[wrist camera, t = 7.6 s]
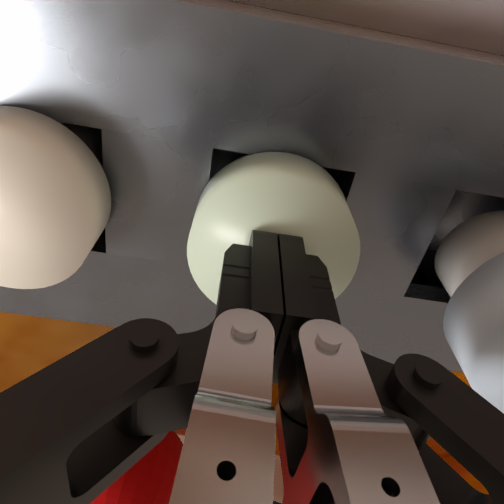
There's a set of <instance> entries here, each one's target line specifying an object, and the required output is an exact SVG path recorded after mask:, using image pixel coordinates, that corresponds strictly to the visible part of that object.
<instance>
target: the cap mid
mask: <svg viewBox="0 0 504 504" xmlns="http://www.w3.org/2000/svg"><path fill="white" fill-rule="evenodd" d="M252 230H259V231H266V232H272V233H277V234H278V233H279V234H286V235H293V236H299V237H303V241H304V246H305V252H306V254H308V255H315V256H318V257H319V258H320V259H321V261H322V262H323V263H324V264H325V265H326V267H327V270H328V274H329V278H330V282H331V286H332V291H333V294H334V298H335V299H336V298H337V297H338V296H339V295H340V294H341V293H342V292H343V291H344V290H345V289H346V288H347V286H348V285H349V283H350V282H351V280H352V278H353V276H354V274H355V272H356V270H357V266H358V263H359V258H360V238H359V233H358V230H357V227H356V224H355V222H354V219H353V217H352V214H351V212H350V209H349V207H348V204H347V202H346V200H345V197H344V195H343V192H342V191H341V189H340V187H339V185H338V184H337V182H336V181H335V180H334V178H333V177H332V176H331V175H330V174H329V173H328V172H327V171H326V170H325V169H323V168H322V167H321V166H319V165H318V164H316V163H314V162H313V161H311V160H309V159H306V158H304V157H301V156H299V155H295V154H290V153H284V152H262V153H255V154H252V155H251V154H245V153H243V154H242V155H240V156H239V157H238V158H237V159H236V160H235V161H233V162H232V163H230V164H228V165H227V166H225V167H224V168H222V169H221V170H220V171H219V172H217V173H216V174H215V175H214V177H213V178H212V179H211V180H210V181H209V182H208V184H207V185H206V187H205V188H204V190H203V192H202V194H201V196H200V199H199V202H198V205H197V208H196V212H195V215H194V219H193V222H192V226H191V230H190V233H189V237H188V243H187V259H188V265H189V268H190V272H191V274H192V276H193V278H194V281H195V282H196V284H197V285H198V287H199V288H200V290H201V291H202V292H203V293H204V294H205V295H206V296H207V297H208V298H209V299H210V300H211V301H212V302H213V303H215V304H216V305H217V298H218V291H219V284H220V278H221V272H222V265H223V259H224V253H225V251H226V250H227V249H228V248H229V247H230V246H231V245H232V244H240V245H247V246H249V242H250V237H251V232H252Z"/></svg>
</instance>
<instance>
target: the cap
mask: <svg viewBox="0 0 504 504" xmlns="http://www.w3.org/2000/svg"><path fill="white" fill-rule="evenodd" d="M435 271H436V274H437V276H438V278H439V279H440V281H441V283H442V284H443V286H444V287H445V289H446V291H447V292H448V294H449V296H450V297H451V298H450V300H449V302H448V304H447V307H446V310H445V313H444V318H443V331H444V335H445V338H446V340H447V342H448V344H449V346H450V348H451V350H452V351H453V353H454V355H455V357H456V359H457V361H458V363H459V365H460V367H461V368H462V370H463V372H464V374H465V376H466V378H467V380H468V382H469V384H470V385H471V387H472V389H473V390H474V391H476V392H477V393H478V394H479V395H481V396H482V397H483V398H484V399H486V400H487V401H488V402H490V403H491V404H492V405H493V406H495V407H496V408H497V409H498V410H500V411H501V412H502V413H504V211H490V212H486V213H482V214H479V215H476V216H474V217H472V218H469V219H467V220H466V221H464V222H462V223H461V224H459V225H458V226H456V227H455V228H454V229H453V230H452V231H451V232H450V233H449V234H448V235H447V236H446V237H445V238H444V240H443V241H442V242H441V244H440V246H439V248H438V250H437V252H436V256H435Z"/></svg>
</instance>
